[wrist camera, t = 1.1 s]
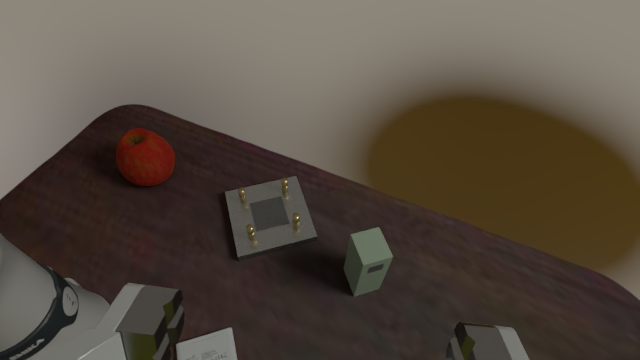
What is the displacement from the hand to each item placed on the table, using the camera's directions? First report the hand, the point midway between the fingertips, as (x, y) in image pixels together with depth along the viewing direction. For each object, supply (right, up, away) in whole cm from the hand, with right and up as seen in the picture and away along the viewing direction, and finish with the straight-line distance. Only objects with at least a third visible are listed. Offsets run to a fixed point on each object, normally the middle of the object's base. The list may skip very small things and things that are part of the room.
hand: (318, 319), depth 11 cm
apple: (-33, +6, +64) cm, 73 cm away
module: (+7, -13, +52) cm, 54 cm away
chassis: (-9, -3, +59) cm, 59 cm away
